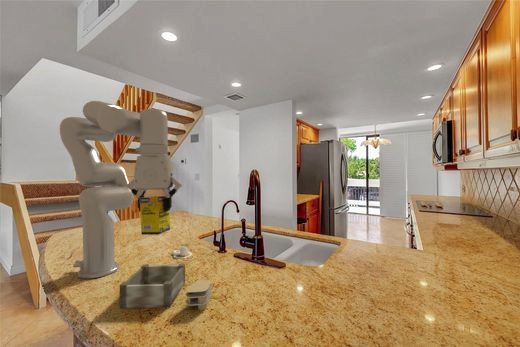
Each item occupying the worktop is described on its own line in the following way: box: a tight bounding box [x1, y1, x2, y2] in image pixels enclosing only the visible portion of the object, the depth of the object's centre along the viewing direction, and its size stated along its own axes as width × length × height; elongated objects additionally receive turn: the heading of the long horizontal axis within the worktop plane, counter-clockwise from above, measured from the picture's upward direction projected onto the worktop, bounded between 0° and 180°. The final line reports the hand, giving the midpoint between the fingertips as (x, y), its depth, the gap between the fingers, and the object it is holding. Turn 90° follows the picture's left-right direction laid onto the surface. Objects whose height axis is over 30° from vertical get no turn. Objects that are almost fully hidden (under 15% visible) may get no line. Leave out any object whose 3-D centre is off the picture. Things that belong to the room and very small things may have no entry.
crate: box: [119, 263, 186, 309], centre depth 69 cm, size 14×14×6 cm
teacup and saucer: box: [172, 245, 193, 259], centre depth 101 cm, size 9×8×4 cm
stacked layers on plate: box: [185, 279, 213, 311], centre depth 64 cm, size 10×9×6 cm
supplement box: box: [140, 194, 171, 236], centre depth 69 cm, size 6×6×11 cm
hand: (154, 210), depth 69 cm, fingers closed on supplement box, 6 cm apart
